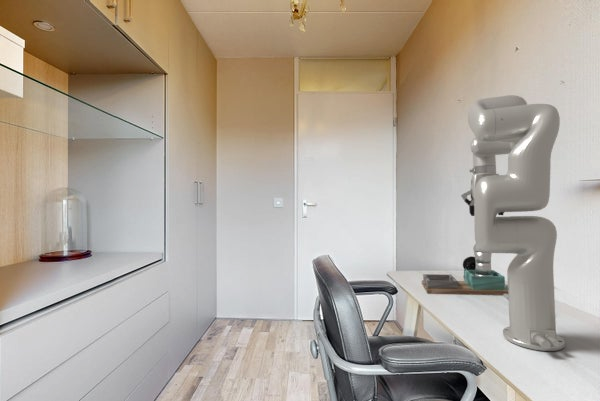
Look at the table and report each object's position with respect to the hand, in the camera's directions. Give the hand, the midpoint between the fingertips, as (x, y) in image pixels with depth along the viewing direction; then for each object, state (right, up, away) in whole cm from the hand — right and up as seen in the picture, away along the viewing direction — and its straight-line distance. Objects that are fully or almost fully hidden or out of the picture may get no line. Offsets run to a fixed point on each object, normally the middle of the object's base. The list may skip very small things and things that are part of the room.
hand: (486, 215), depth 120 cm
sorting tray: (-8, -30, +4) cm, 31 cm away
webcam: (+5, -29, +19) cm, 35 cm away
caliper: (+1, -30, -16) cm, 34 cm away
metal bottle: (0, -28, +2) cm, 28 cm away
